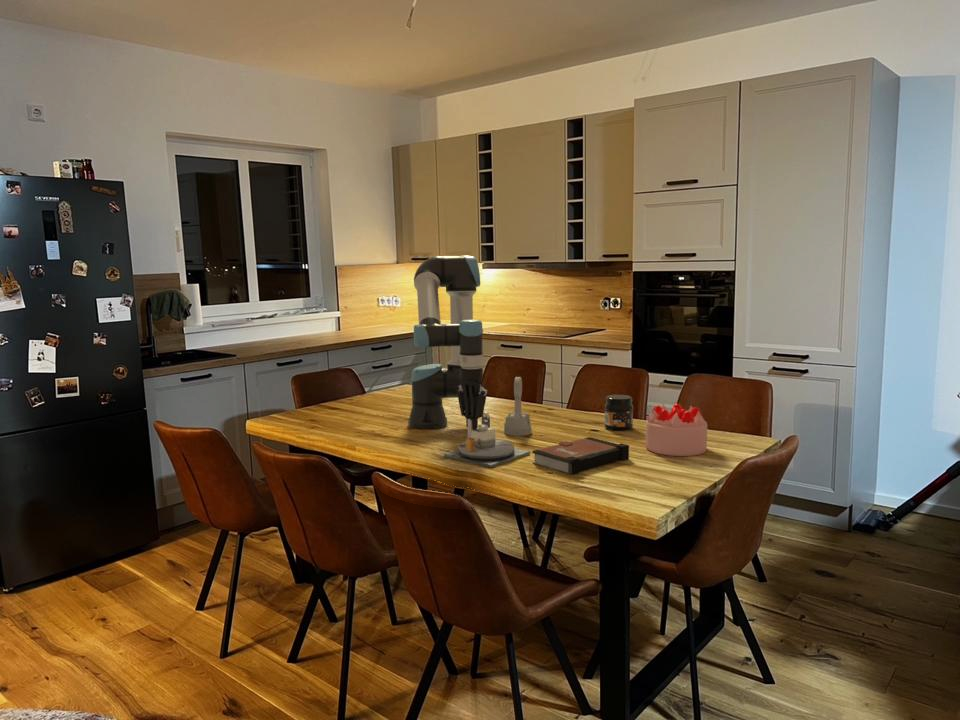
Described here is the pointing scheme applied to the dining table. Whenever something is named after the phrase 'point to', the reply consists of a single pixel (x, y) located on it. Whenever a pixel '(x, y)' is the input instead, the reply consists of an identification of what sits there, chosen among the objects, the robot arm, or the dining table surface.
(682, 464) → the dining table surface
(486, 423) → the stand
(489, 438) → the cover
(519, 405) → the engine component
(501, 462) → the base plate
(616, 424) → the supplement container
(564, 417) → the dining table surface
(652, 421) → the cake
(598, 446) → the book
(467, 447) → the turntable
